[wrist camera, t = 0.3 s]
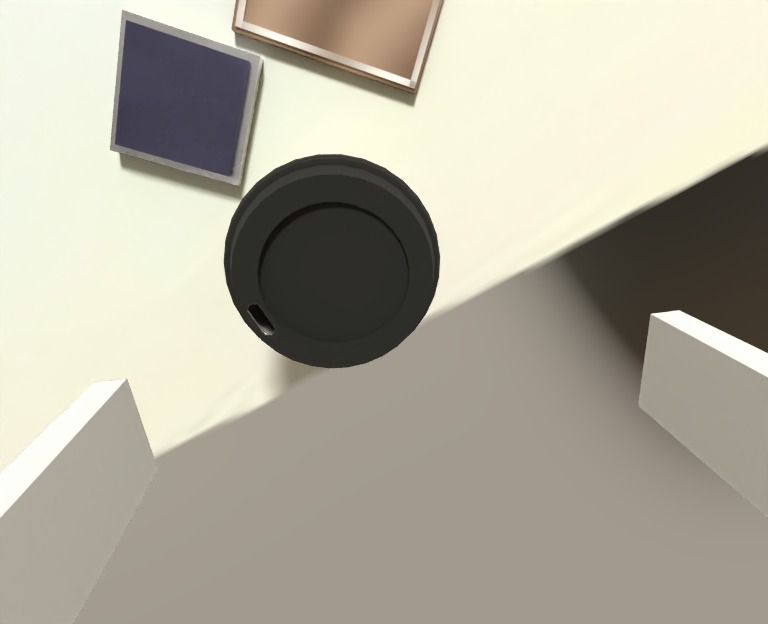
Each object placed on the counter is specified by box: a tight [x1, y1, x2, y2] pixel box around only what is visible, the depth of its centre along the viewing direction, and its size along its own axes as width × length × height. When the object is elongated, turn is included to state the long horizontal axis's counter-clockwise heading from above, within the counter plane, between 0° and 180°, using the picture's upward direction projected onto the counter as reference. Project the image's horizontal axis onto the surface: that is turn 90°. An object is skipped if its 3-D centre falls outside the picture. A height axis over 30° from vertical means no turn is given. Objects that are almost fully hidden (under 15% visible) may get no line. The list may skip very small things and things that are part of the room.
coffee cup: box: [224, 154, 440, 368], centre depth 26 cm, size 10×10×15 cm
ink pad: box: [110, 10, 263, 186], centre depth 28 cm, size 8×8×2 cm
